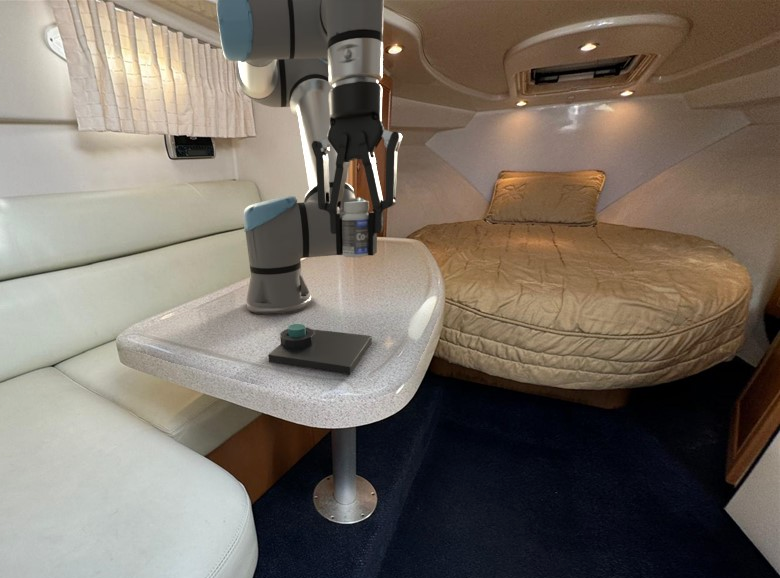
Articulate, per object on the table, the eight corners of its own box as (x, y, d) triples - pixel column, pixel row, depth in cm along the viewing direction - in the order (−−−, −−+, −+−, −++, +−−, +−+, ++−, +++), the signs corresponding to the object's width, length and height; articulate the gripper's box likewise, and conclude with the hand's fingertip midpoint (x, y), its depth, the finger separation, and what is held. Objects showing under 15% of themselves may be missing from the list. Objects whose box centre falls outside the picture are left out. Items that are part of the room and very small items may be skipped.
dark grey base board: (266, 361, 60) (264, 345, 59) (298, 334, 70) (296, 319, 68) (350, 375, 54) (349, 357, 53) (371, 343, 64) (372, 327, 63)
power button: (285, 337, 62) (284, 329, 61) (293, 331, 64) (292, 322, 64) (301, 339, 61) (300, 331, 60) (308, 332, 63) (308, 324, 62)
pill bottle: (360, 258, 58) (359, 202, 55) (337, 256, 61) (335, 203, 58) (376, 253, 61) (377, 200, 58) (353, 251, 64) (353, 200, 61)
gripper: (287, 91, 52) (299, 257, 61) (416, 68, 45) (406, 259, 55) (307, 99, 58) (316, 249, 68) (423, 80, 51) (414, 250, 61)
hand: (356, 253), depth 61 cm, fingers closed on pill bottle, 5 cm apart
